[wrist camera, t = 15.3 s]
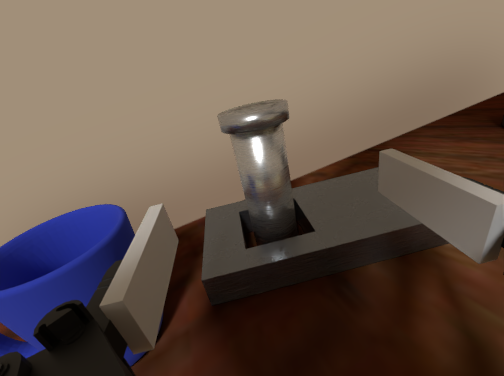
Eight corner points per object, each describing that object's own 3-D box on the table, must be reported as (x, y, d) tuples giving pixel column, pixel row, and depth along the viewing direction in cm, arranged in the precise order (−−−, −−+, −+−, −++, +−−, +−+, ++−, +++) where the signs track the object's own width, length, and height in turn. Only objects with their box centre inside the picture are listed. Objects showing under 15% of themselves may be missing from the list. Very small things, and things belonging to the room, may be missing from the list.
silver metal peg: (295, 223, 28) (277, 97, 22) (313, 255, 23) (296, 103, 17) (248, 234, 28) (217, 111, 21) (256, 270, 22) (217, 122, 16)
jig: (379, 187, 31) (380, 166, 29) (458, 240, 21) (465, 212, 20) (212, 229, 30) (206, 209, 28) (212, 305, 20) (201, 280, 19)
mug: (43, 328, 21) (-39, 242, 17) (176, 281, 23) (134, 192, 19) (-27, 454, 14) (-202, 360, 10) (175, 370, 16) (105, 260, 12)
